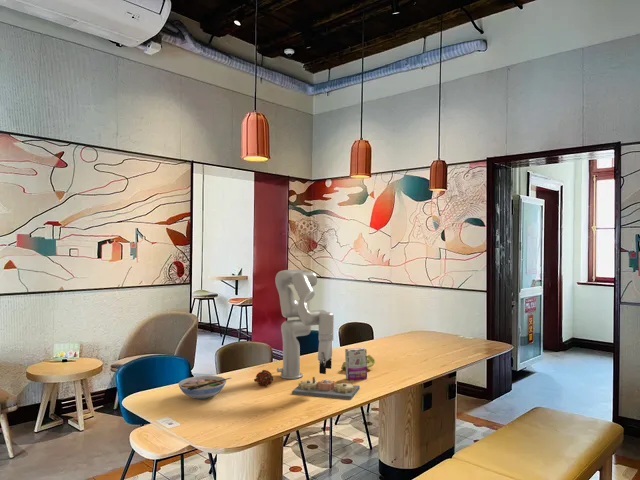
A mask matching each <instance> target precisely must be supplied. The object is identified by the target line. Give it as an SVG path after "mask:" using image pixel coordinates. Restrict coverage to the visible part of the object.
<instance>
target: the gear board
mask: <svg viewBox="0 0 640 480" xmlns="http://www.w3.org/2000/svg"><path fill="white" fill-rule="evenodd" d="M328 380H329V379H324V383H328ZM318 382H319V381H317V380H316V377H315V376H313V377H312V380H310V379H306V380H301V381H299V382H298V386H297V387H295V388H293V390H291V394H292V395H301V396H309V397H323V398H331V399H332V398H333V399H343V400H352V399H353V398H354V397H355V395H356V394H357V393H358V391H359V390H360V388H361V387H360V385H355V384H352V383H351V382H350V383H345V382H342V383H335V386H334V389H332V390H319V388H318Z"/></svg>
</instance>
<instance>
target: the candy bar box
mask: <svg viewBox="0 0 640 480" xmlns="http://www.w3.org/2000/svg"><path fill="white" fill-rule="evenodd" d="M344 352H345V353H344V354H345V361H344V362H346V370H345V378H346V380H347V381H357V380H368V379H367V378H368V369H367V356H368V355H367V348H365V347H358V348H357V347H356V348H355V347H354V348H346V349H344Z"/></svg>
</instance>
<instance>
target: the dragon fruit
mask: <svg viewBox="0 0 640 480" xmlns="http://www.w3.org/2000/svg"><path fill="white" fill-rule="evenodd" d="M253 380H254V382H255V383H258V386H260V387H261V386H264V387H268V386H269V385H271V384H272V382H273V381H274V376H273V375H272V373H271V372H270V371H269V370H265V369H262V371H259V372H258V373H256V376H255V378H254V379H253Z"/></svg>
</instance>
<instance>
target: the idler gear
mask: <svg viewBox="0 0 640 480" xmlns="http://www.w3.org/2000/svg"><path fill="white" fill-rule="evenodd" d="M324 380H325V379H324ZM324 380H323V379H321V380H320V381H317V382H318V388H319V390H332V389H334V386H335V384H336V382H335V381H334V380H329V379H327V380H328V383H324Z"/></svg>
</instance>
